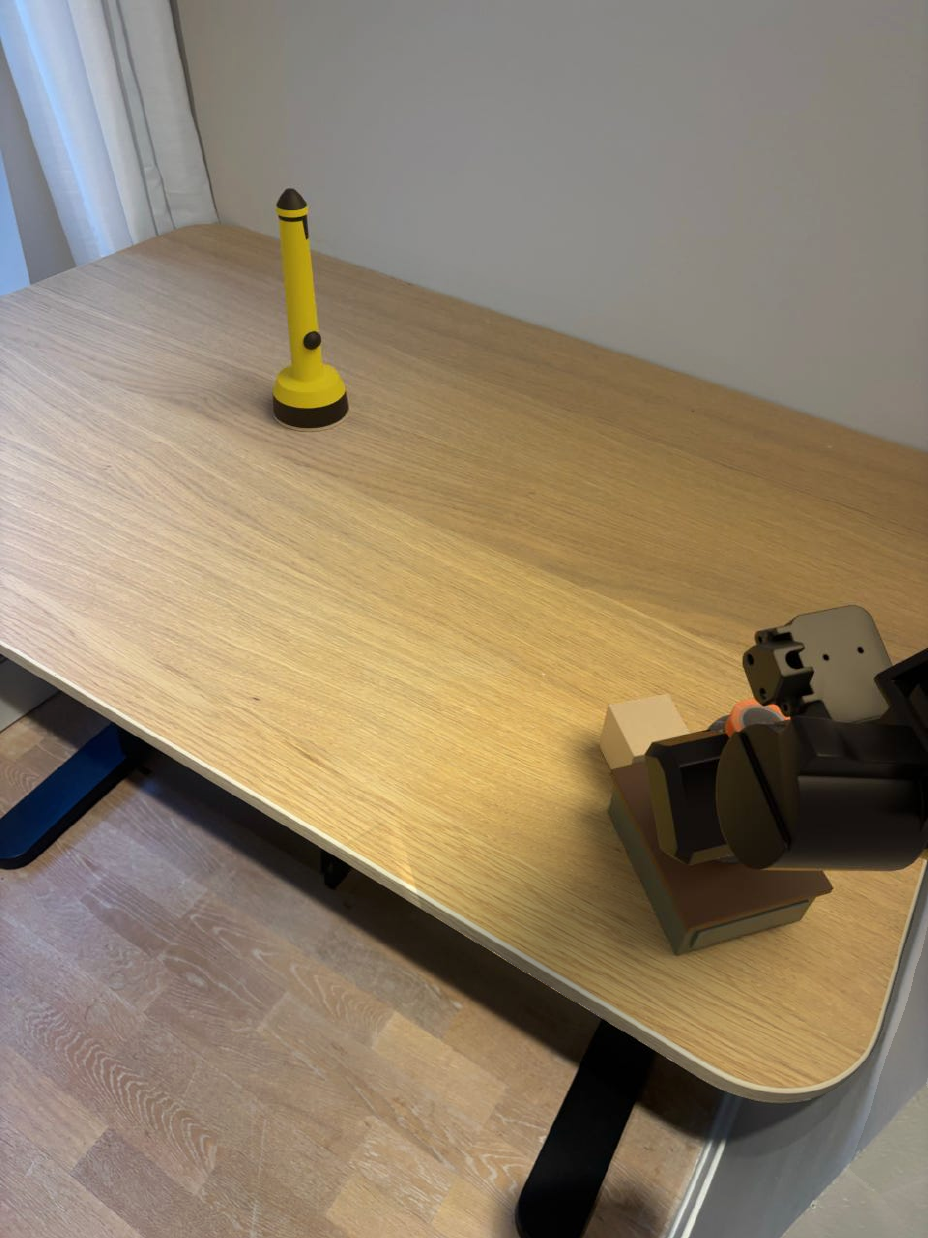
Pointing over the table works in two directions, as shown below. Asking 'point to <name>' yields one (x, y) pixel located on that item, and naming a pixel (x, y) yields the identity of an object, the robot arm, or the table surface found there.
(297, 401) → the flashlight
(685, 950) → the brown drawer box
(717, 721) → the pill bottle
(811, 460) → the table surface
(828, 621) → the robot arm
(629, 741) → the beige cube
